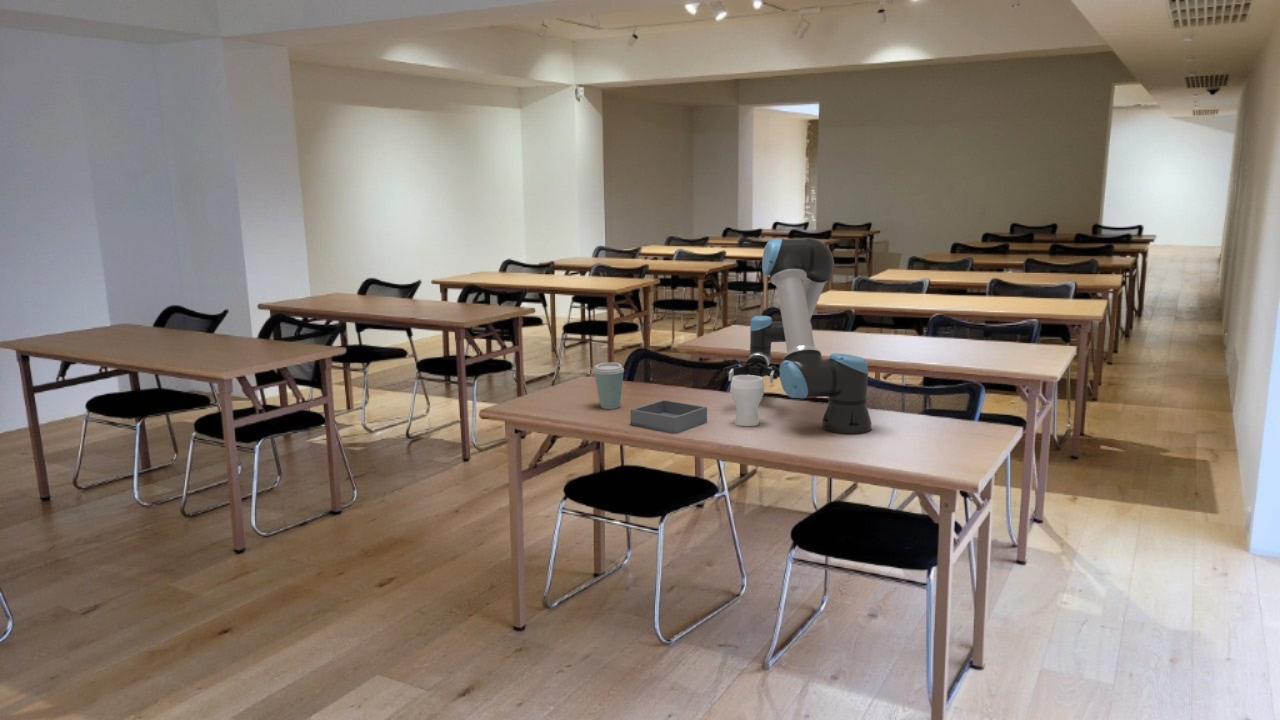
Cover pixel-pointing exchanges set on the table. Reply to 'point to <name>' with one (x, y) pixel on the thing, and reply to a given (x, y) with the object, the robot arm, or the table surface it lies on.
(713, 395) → the table surface
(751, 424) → the white ceramic vase
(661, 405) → the bin
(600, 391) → the disposable coffee cup
